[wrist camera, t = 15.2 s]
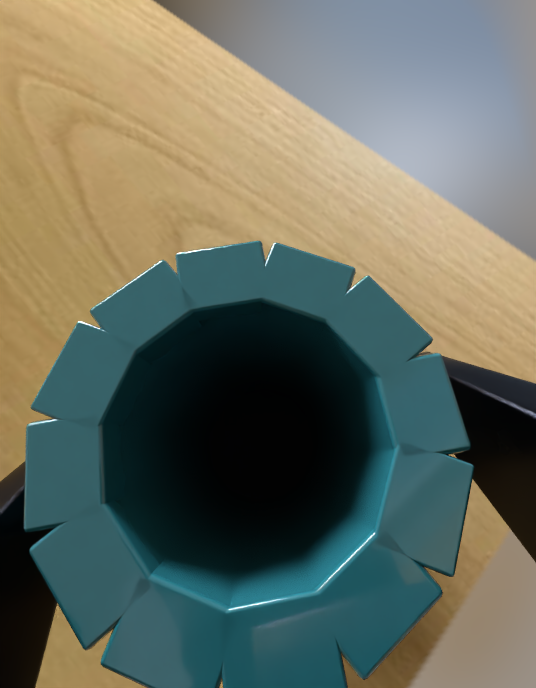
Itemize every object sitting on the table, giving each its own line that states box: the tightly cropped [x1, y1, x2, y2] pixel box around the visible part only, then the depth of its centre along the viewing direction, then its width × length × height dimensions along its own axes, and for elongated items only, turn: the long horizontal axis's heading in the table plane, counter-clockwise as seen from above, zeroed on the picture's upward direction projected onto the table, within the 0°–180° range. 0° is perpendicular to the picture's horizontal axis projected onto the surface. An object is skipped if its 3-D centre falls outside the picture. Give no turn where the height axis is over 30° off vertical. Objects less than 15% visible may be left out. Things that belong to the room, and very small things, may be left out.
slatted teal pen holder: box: [24, 241, 474, 688], centre depth 10 cm, size 7×7×10 cm
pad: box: [208, 390, 314, 500], centre depth 15 cm, size 9×9×1 cm
